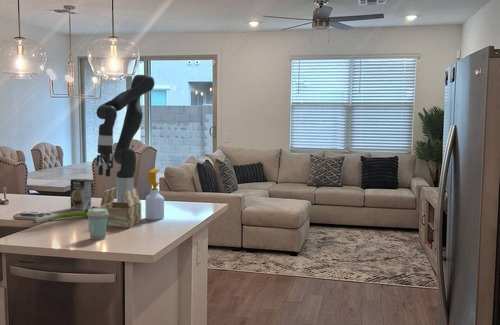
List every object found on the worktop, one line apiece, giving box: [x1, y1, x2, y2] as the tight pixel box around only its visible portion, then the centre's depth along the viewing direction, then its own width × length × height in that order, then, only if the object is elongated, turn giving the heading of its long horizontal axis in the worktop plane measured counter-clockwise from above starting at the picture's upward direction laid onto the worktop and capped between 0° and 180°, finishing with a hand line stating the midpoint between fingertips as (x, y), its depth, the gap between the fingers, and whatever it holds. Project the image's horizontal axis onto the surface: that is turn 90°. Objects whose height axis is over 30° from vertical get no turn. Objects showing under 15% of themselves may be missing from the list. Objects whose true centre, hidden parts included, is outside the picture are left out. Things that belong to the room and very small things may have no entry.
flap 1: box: [100, 186, 117, 207], centre depth 236 cm, size 15×1×7 cm, turn 174°
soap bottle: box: [144, 168, 165, 221], centre depth 251 cm, size 9×9×25 cm
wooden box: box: [99, 201, 142, 229], centre depth 236 cm, size 17×14×9 cm
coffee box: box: [70, 178, 92, 211], centre depth 273 cm, size 9×6×16 cm
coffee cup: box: [87, 207, 108, 241], centre depth 208 cm, size 9×8×12 cm
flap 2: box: [125, 187, 141, 207], centre depth 235 cm, size 15×1×7 cm, turn 174°
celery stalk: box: [34, 206, 100, 223], centre depth 245 cm, size 6×7×30 cm
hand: (104, 175), depth 262 cm, fingers open, 8 cm apart
